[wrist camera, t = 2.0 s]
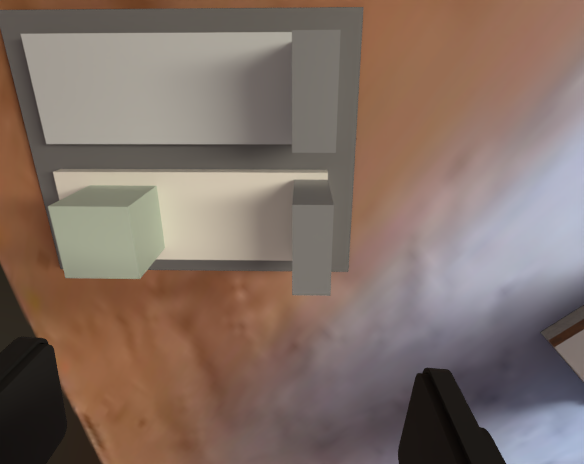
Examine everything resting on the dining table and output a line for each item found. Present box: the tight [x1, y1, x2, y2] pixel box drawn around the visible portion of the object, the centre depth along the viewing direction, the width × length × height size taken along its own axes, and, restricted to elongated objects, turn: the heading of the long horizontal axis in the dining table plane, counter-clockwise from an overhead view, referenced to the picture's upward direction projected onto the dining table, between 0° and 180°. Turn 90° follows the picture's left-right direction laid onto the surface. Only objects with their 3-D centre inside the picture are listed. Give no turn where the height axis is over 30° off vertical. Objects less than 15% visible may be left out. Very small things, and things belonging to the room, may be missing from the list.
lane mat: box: [0, 7, 363, 272], centre depth 29 cm, size 24×19×1 cm
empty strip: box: [21, 30, 341, 153], centre depth 24 cm, size 20×7×7 cm, turn 90°
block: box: [48, 185, 165, 279], centre depth 27 cm, size 5×5×5 cm
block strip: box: [53, 169, 334, 296], centre depth 27 cm, size 20×7×7 cm, turn 90°
